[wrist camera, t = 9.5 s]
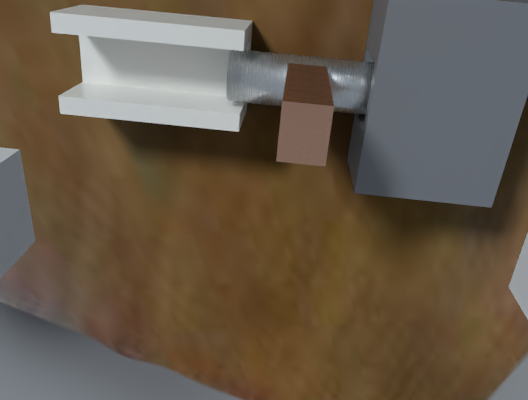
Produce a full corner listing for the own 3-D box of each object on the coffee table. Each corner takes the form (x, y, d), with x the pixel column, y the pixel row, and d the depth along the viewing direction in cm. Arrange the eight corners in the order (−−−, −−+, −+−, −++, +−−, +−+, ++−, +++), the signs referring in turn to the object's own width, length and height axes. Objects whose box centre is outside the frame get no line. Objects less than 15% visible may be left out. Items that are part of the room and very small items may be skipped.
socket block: (376, -16, 33) (390, -10, 27) (514, -3, 33) (556, 5, 27) (347, 158, 39) (354, 193, 33) (464, 170, 38) (491, 207, 33)
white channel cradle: (82, 4, 35) (49, 12, 30) (252, 20, 35) (244, 30, 30) (89, 94, 38) (60, 113, 33) (246, 110, 37) (238, 131, 33)
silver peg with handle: (234, 44, 34) (200, 88, 23) (470, 67, 34) (551, 123, 23) (232, 93, 36) (198, 157, 25) (457, 116, 35) (527, 191, 24)
